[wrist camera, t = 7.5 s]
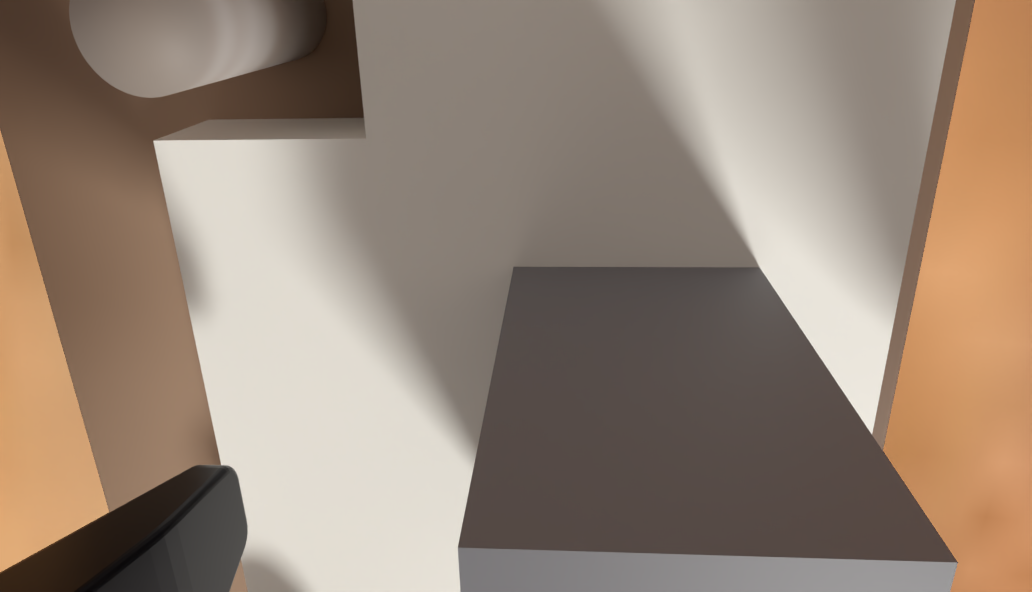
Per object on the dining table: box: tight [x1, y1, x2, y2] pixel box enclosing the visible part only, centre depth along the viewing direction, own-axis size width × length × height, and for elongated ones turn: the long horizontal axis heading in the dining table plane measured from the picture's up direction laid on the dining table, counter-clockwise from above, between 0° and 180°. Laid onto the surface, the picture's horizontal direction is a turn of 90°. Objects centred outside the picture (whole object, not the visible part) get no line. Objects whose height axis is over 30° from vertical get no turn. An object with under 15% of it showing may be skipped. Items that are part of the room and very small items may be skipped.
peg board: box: [0, 0, 975, 592], centre depth 11 cm, size 13×22×6 cm, turn 1°
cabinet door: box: [153, 0, 958, 592], centre depth 8 cm, size 9×16×6 cm, turn 1°
